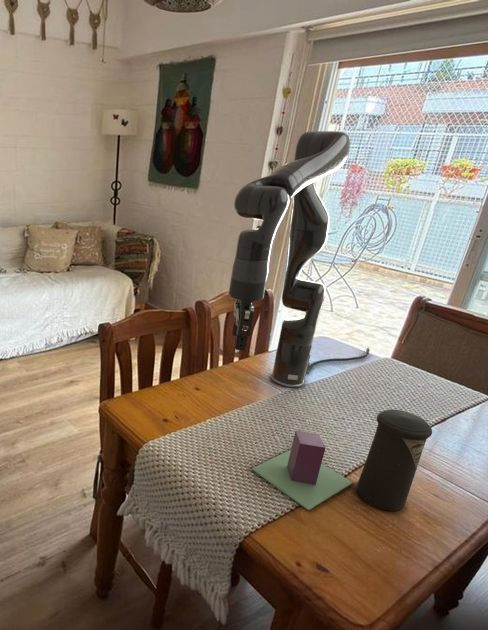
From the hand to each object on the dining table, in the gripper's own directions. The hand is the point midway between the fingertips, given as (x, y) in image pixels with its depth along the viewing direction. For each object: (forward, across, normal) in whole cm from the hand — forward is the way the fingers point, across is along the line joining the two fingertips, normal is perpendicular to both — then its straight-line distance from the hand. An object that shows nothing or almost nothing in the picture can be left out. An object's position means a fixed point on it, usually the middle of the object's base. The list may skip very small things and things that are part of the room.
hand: (238, 342), depth 105 cm
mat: (+26, -12, -16) cm, 33 cm away
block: (+26, -12, -16) cm, 33 cm away
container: (+26, -14, -31) cm, 43 cm away
